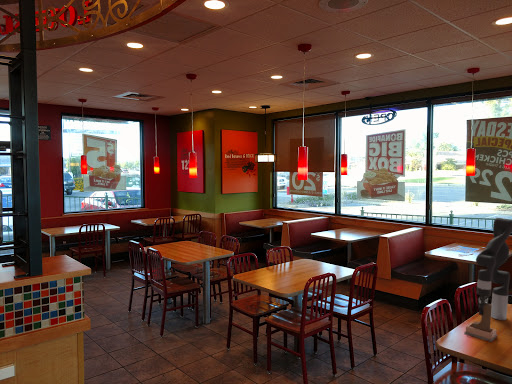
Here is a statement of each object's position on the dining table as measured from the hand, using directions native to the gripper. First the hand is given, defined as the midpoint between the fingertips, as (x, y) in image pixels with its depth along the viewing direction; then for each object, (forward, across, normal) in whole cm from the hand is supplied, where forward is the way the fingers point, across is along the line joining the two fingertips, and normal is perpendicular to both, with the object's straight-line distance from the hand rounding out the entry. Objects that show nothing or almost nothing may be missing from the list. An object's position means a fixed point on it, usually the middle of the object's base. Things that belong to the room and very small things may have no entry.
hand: (482, 313), depth 239 cm
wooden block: (+12, 0, 0) cm, 12 cm away
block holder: (+14, 0, 0) cm, 14 cm away
